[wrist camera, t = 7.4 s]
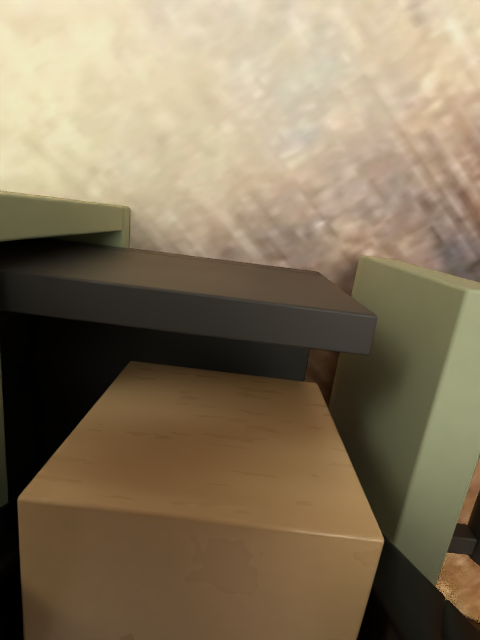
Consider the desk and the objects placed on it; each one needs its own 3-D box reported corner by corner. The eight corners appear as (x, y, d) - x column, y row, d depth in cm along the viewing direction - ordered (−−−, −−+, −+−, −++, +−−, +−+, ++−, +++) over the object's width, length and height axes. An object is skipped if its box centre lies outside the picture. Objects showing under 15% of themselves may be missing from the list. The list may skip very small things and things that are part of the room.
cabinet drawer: (513, 274, 12) (767, 326, 6) (434, 523, 15) (559, 725, 9) (22, 212, 12) (-199, 205, 6) (31, 477, 15) (-116, 653, 9)
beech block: (318, 382, 9) (386, 540, 5) (288, 534, 10) (320, 775, 6) (129, 359, 9) (14, 497, 4) (123, 515, 10) (26, 744, 6)
